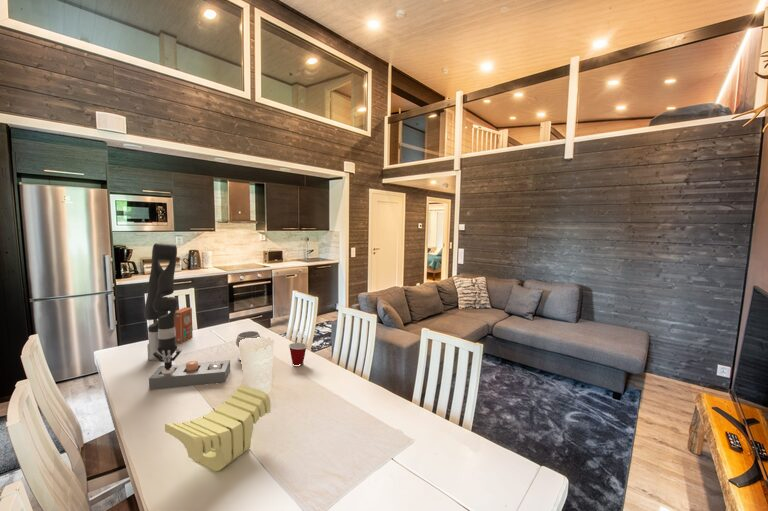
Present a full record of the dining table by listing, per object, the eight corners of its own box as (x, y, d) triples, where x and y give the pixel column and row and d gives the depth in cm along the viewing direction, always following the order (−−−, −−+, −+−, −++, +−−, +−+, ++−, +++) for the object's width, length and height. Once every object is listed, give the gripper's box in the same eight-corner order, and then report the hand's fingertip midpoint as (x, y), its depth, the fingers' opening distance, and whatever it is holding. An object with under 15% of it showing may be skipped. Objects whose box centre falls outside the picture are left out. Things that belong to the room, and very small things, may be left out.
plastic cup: (310, 366, 193) (310, 346, 191) (292, 370, 186) (292, 349, 185) (303, 359, 201) (303, 340, 200) (286, 363, 195) (286, 343, 194)
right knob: (208, 377, 172) (208, 368, 171) (210, 373, 177) (210, 364, 177) (220, 376, 173) (219, 367, 173) (222, 372, 179) (222, 363, 178)
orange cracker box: (194, 336, 236) (181, 343, 221) (185, 336, 236) (171, 343, 221) (193, 307, 234) (180, 312, 219) (184, 306, 234) (170, 312, 219)
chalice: (233, 363, 193) (233, 338, 192) (239, 354, 207) (238, 331, 205) (258, 362, 196) (258, 337, 194) (262, 353, 209) (262, 330, 208)
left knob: (160, 381, 166) (159, 371, 165) (164, 376, 171) (163, 367, 170) (172, 380, 167) (172, 370, 167) (176, 375, 173) (176, 366, 172)
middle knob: (184, 375, 168) (184, 365, 168) (187, 370, 174) (187, 361, 173) (196, 374, 170) (196, 364, 170) (199, 369, 175) (199, 360, 175)
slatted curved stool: (198, 492, 101) (196, 438, 100) (166, 474, 108) (164, 423, 107) (270, 437, 128) (270, 393, 127) (241, 425, 135) (241, 384, 134)
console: (149, 390, 161) (148, 378, 160) (160, 376, 175) (160, 365, 174) (225, 382, 170) (225, 371, 169) (230, 370, 184) (229, 360, 184)
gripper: (183, 332, 172) (185, 364, 174) (154, 334, 169) (156, 367, 170) (179, 337, 165) (180, 370, 167) (148, 339, 162) (150, 373, 163)
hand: (168, 368), depth 169 cm, fingers closed
